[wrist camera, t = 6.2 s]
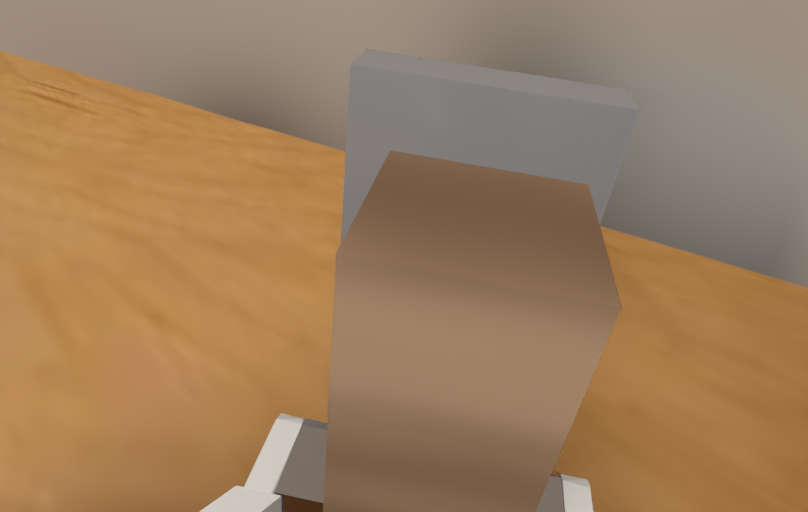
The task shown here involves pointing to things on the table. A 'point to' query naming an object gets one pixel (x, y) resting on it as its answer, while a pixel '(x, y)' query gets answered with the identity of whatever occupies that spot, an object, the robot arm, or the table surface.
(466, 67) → the tile
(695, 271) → the table surface
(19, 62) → the table surface
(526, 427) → the brown and white bookend
